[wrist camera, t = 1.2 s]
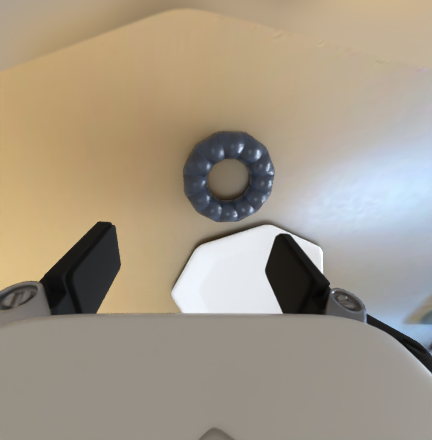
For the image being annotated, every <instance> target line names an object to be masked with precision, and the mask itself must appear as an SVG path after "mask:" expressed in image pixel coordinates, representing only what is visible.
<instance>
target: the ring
mask: <svg viewBox="0 0 432 440" xmlns="http://www.w3.org/2000/svg"><path fill="white" fill-rule="evenodd" d="M223 159H238V160H239V161H241V162H242V163H244V164H245V165H246V166H247V169H248V171H249V173H250V181H249V186H248V188H247V189H246V191H245V192H244V194H243V195H242V196H240V197H238V198H236V199H234V200H220V199H218V198H216V197H214V196H213V195H212V194H211V192H210V190H209V189H208V187H207V176H208V174H209V172H210V170H211V169H212V167H213V165H215V164H216V163H218V162H220V161H222V160H223ZM274 172H275V171H274V166H273V164H272V161H271V158H270V156H269V153H268V150H267V148H266V147H265V146H264V145H263V144H261V143H260V142H259V141H257V140H256V139H254V138H253V137H252V136H250V135H249V134H247V133H245V132H230V131H220V132H217V133H215V134H213V135H211V136H210V137H208V138H206V139H205V140H203V141H202V142H200V143H198V144H197V145H196V146H195V147H194V149H193V151H192V152H191V154H190V156H189V158H188V160H187V162H186V164H185V166H184V169H183V177H184V192H185V195H186V197H187V198H188V200H189V201H190V202H191V204H192V205H193V207H194V208H195V210H196V211H197V212H198V213H200V214H201V215H203V216H205V217H208V218H210V219H212V220H214V221H216V222H236V221H240V220H242V219H244V218H246V217H248V216H250V215H252V214H253V213H255V212H257V211H258V210H259V209H260V207H261V206H262V205H263V203H264V202H265V201H266V199H267V198H268V197H269V195H270V193H271V190H272V184H273V179H274Z"/></svg>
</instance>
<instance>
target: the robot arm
mask: <svg viewBox="0 0 432 440" xmlns="http://www.w3.org/2000/svg"><path fill="white" fill-rule="evenodd" d="M120 266H121V262H120V255H119V248H118V241H117V234H116V228H115V225H112V223H111V222H97V223H96V224H95V225H94V226H93V227H92V228H91V229H90V230H89V231H88V232H87V233H86V234H85V235H84V236H83V237H82V238H81V239H80V240H79V241H78V242H77V243H76V244H75V245H74V246H73V247H72V248H71V249H70V250H69V251H68V252H67V253H66V254H65V255H64V256H63V257H62V258H61V259H60V260H59V261H58V262H57V263H56V264H55V265H54V266H53V267H52V268H51V269H50V270H49V271H48V272H47V273H46V274H45V275H44V277H43V278H42V279H41V280H40V281H39V282H37V281H26V282H21V283H17V284H14V285H12V286H9V287H7V288H5V289H3V290H1V291H0V440H432V356H431V354H430V353H429V352H428V351H427V350H426V349H425V348H424V347H423V346H422V345H421V344H419V343H418V342H417V341H415V340H413V339H412V338H410V337H408V336H406V335H405V334H403V333H401V332H399V331H397V330H395V329H394V328H392V327H390V326H388V325H386V324H384V323H383V322H381V321H379V320H377V319H375V318H373V317H372V316H370V315H368V314H366V309H365V306H364V304H363V303H362V301H361V300H360V299H359V298H358V297H356V296H355V295H354V294H352V293H350V292H349V291H346V290H344V289H340V288H333V289H330V287H329V285H330V282H329V281H328V280H327V279H326V278H325V276H324V275H323V274H322V273H321V271H320V270H319V269H318V268H317V267H316V265H315V264H314V263H313V262H312V260H311V259H310V258H309V257H308V256H307V254H306V253H305V252H304V251H303V250H302V248H301V247H300V246H299V245H298V243H297V242H296V241H295V240H294V239H293V237H292V236H291V235H290V234H285V233H280V234H278V235H277V236H276V237H275V239H274V242H273V246H272V249H271V252H270V255H269V258H268V261H267V264H266V267H265V274H266V277H267V279H268V281H269V283H270V286H271V288H272V290H273V292H274V295H275V297H276V299H277V302H278V304H279V306H280V308H281V311H282V313H283V314H262V313H107V314H96V313H97V311H98V309H99V307H100V305H101V303H102V301H103V299H104V298H105V296H106V294H107V292H108V290H109V288H110V286H111V284H112V283H113V281H114V279H115V277H116V275H117V273H118V271H119V269H120Z"/></svg>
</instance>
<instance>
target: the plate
mask: <svg viewBox="0 0 432 440" xmlns="http://www.w3.org/2000/svg"><path fill="white" fill-rule="evenodd" d="M280 233H285V234H290V235H291V236H292V237H293V239H294V240H295V241H296V242H297V243H298V245H299V246H300V247H301V248H302V250H303V251H304V252H305V253H306V254H307V256H308V257H309V258H310V259H311V260H312V262H313V263H314V264H315V265H316V267H317V268H318V269H319V270H320V271H321V273H322V274H323V252H322V250H321V248H320V247H319V246H318V245H316V244H313V243H311V242H309V241H307V240H305V239H302V238H300V237H298V236H296V235H294V234H291V233H289V232H287V231H285V230H283V229H280V228H278V227H276V226H274V225H271V224H263V225H260V226H257V227H253V228H250V229H247V230H244V231H241V232H238V233H234V234H231V235H228V236H225V237H222V238H219V239H215V240H212V241H209V242H206V243H203V244H201V245H199V246H198V247H197V248H195V250H194V252H193V254H192V255H191V257H190V259H189V261H188V262H187V264H186V266H185V268H184V270H183V271H182V273H181V275H180V277H179V278H178V280H177V282H176V284H175V285H174V287H173V289H172V291H171V294H172V298H173V300H174V301H175V303H176V304H177V306H178V307H179V309H180V310H181V312H182V313H262V314H283V313H282V311H281V308H280V306H279V304H278V302H277V299H276V297H275V295H274V292H273V290H272V288H271V286H270V283H269V281H268V279H267V277H266V274H265V267H266V264H267V261H268V258H269V255H270V252H271V249H272V246H273V242H274V239H275V237H276V236H277V235H278V234H280Z"/></svg>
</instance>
